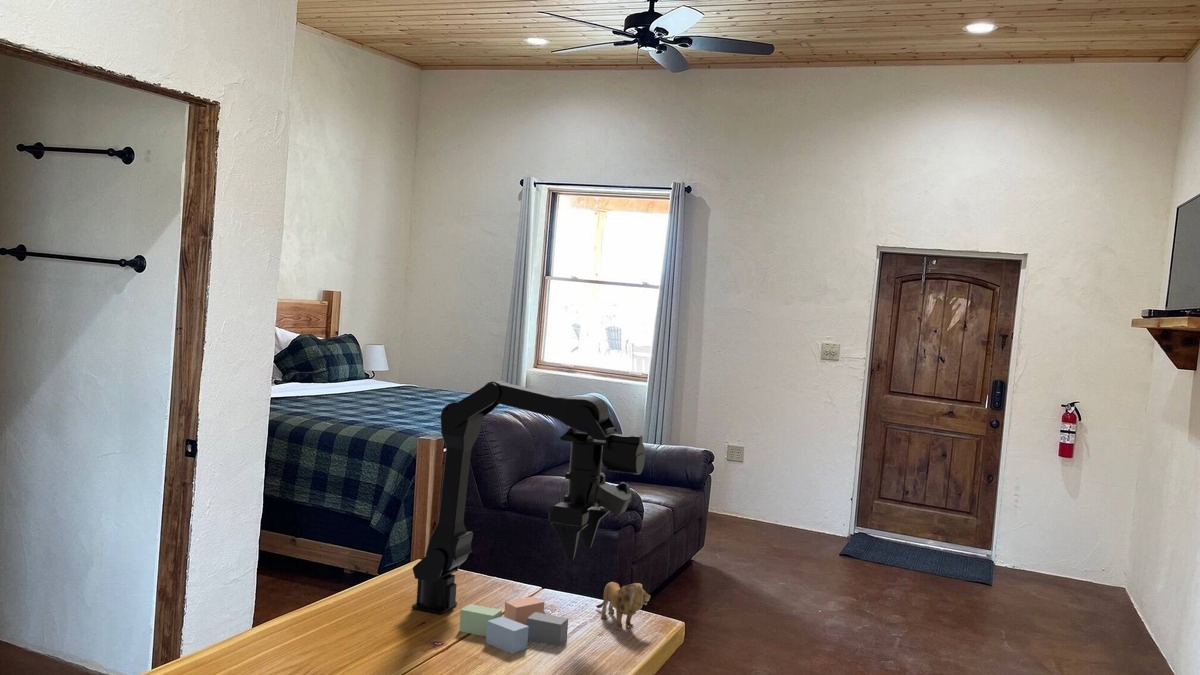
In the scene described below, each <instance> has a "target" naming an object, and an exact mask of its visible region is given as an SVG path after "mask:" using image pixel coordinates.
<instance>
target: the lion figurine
mask: <svg viewBox="0 0 1200 675" xmlns="http://www.w3.org/2000/svg"><path fill="white" fill-rule="evenodd" d="M650 599H651V595H650V594H648V592H646V590H644V588H643V584H642V583H640V582H638V583H637V582H633V583H631V584H626V585H623V586H621V587H620V584H619V583H617V582H616V581H615V582H614V581H610V582H608V583H607V584H606V585H605V586H604V590H603V601H602V603H599V604H598V605H596V606H595V607H596V608H597V609H601V608H602V609H601V616H600V619H603V620H604V619H608V616H607V608H608V612H609V614H613V613H616V626H615V630H617V629H622V630H623V622H622V618H623V616H624V615H625V616H626V618H625V626H626V627H627V626H629V627H632V626H633V627H634V624H633V623H631V620H632V617H633V615H635V614H636V613H637V612H638V611H640V610H641V609H642V608H643V605H644V606H647V605H648V602H650ZM607 606H608V607H607ZM615 611H616V612H615ZM629 627H628V628H629ZM633 627H632V628H633Z"/></svg>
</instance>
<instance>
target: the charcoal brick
mask: <svg viewBox="0 0 1200 675" xmlns="http://www.w3.org/2000/svg"><path fill="white" fill-rule="evenodd" d="M527 626H529V629H528V641H530V642H535V643H541V644H545V645H550V646H556V647H561V646H562V645H563V644H564V643H565V642H566V641H568V628H569V617H565V616H564V617H563V616H557V615H553V614H548V613H544V614H543V613H537V612H534V613H533V614H532V615H531V616H529V617H528V618H527Z"/></svg>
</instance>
